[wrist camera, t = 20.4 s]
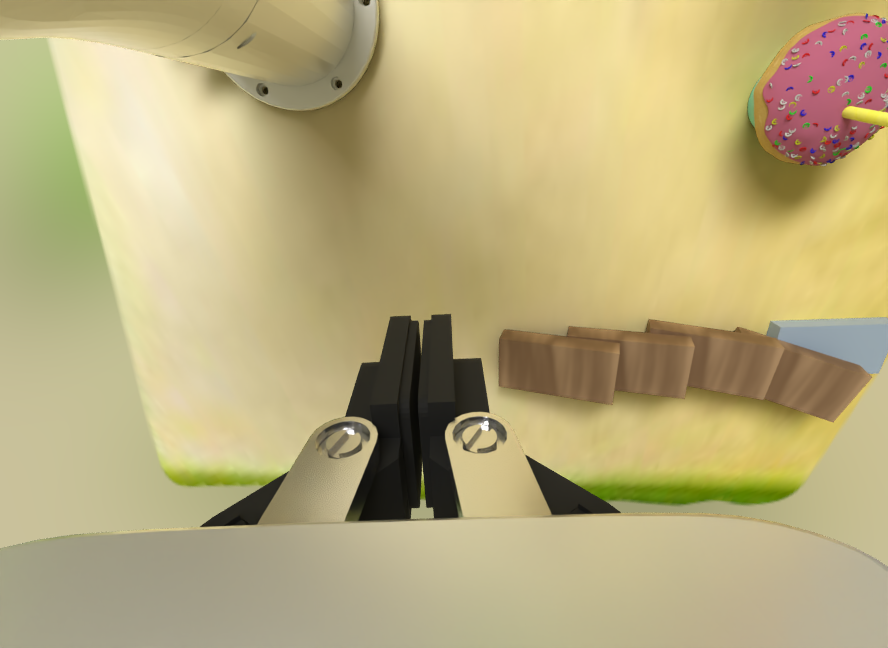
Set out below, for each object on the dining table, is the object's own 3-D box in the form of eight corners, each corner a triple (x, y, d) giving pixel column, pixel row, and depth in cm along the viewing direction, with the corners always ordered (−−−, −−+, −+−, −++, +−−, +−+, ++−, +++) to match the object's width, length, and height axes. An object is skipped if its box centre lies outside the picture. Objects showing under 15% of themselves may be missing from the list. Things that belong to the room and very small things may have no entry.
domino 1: (498, 386, 41) (612, 404, 37) (499, 338, 38) (619, 353, 35) (503, 375, 42) (612, 392, 39) (504, 329, 40) (619, 342, 37)
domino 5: (714, 381, 40) (833, 422, 38) (743, 336, 37) (872, 377, 35) (709, 370, 41) (823, 409, 40) (737, 326, 39) (859, 365, 37)
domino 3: (638, 377, 40) (763, 400, 37) (650, 328, 38) (784, 348, 35) (636, 366, 41) (756, 387, 39) (648, 319, 39) (776, 338, 37)
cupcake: (810, 164, 34) (980, 183, 23) (702, 154, 34) (820, 168, 23) (865, 34, 30) (1097, -18, 19) (744, 22, 30) (908, -37, 19)
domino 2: (564, 383, 40) (684, 398, 37) (567, 335, 38) (694, 347, 35) (566, 373, 42) (681, 386, 39) (569, 326, 40) (690, 336, 37)
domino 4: (766, 376, 40) (878, 373, 40) (780, 327, 38) (900, 323, 37) (752, 365, 42) (860, 362, 41) (766, 318, 40) (879, 314, 39)
